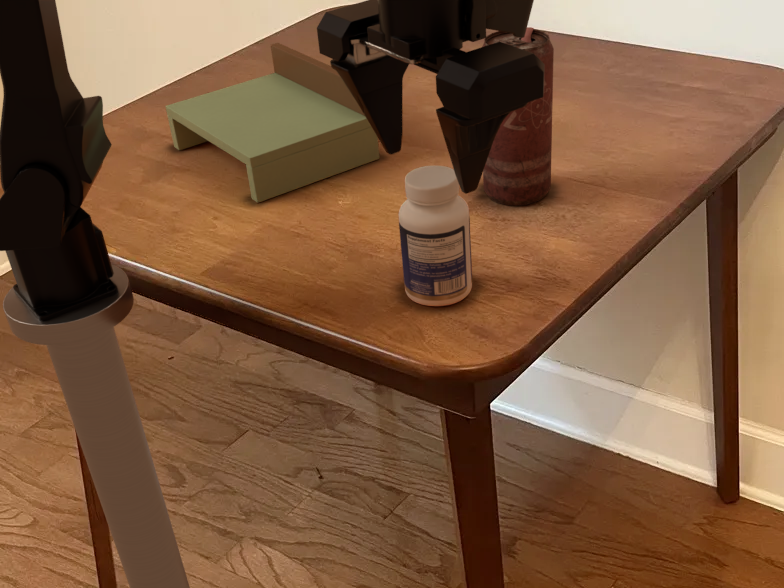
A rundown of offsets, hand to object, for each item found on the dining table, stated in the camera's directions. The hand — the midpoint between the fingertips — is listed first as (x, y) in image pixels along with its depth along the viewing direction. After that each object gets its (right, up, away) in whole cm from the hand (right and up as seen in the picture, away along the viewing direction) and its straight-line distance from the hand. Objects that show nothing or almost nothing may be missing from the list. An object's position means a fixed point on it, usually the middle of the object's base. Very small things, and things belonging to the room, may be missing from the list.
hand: (430, 171), depth 75 cm
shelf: (-15, +9, +30) cm, 35 cm away
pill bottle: (+1, -8, +6) cm, 10 cm away
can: (+8, +3, +19) cm, 21 cm away
